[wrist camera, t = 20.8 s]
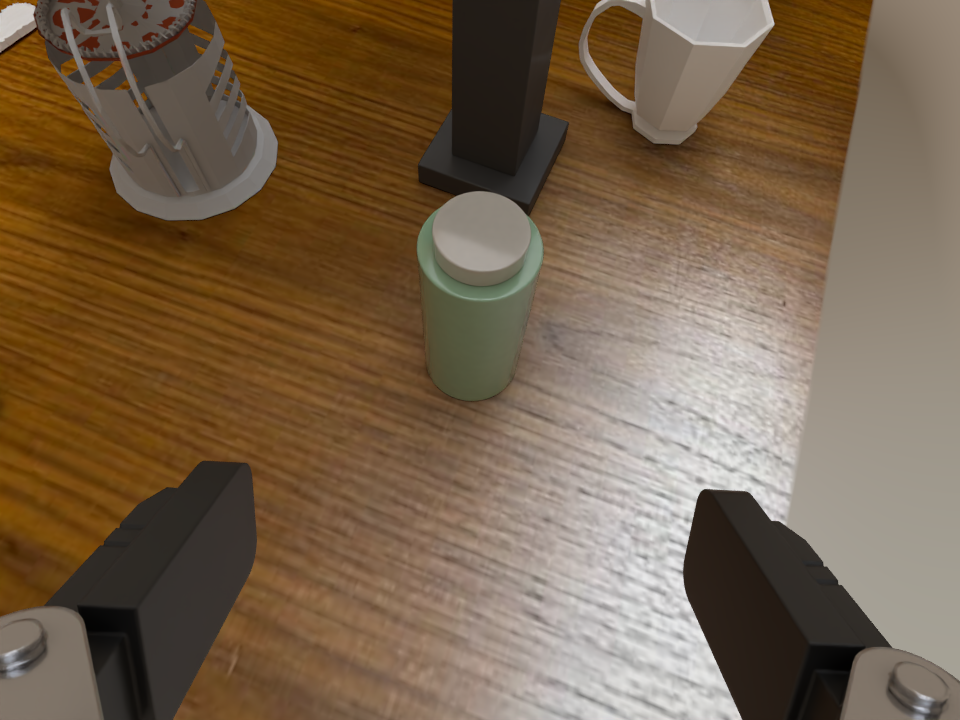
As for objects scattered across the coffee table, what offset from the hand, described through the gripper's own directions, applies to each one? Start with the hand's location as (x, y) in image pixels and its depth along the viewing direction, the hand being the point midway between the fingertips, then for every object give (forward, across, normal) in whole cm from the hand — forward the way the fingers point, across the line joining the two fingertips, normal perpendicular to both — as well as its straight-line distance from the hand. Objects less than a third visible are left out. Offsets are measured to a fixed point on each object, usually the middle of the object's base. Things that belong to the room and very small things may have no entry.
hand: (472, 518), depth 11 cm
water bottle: (+21, 0, +4) cm, 21 cm away
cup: (+34, -10, -8) cm, 37 cm away
